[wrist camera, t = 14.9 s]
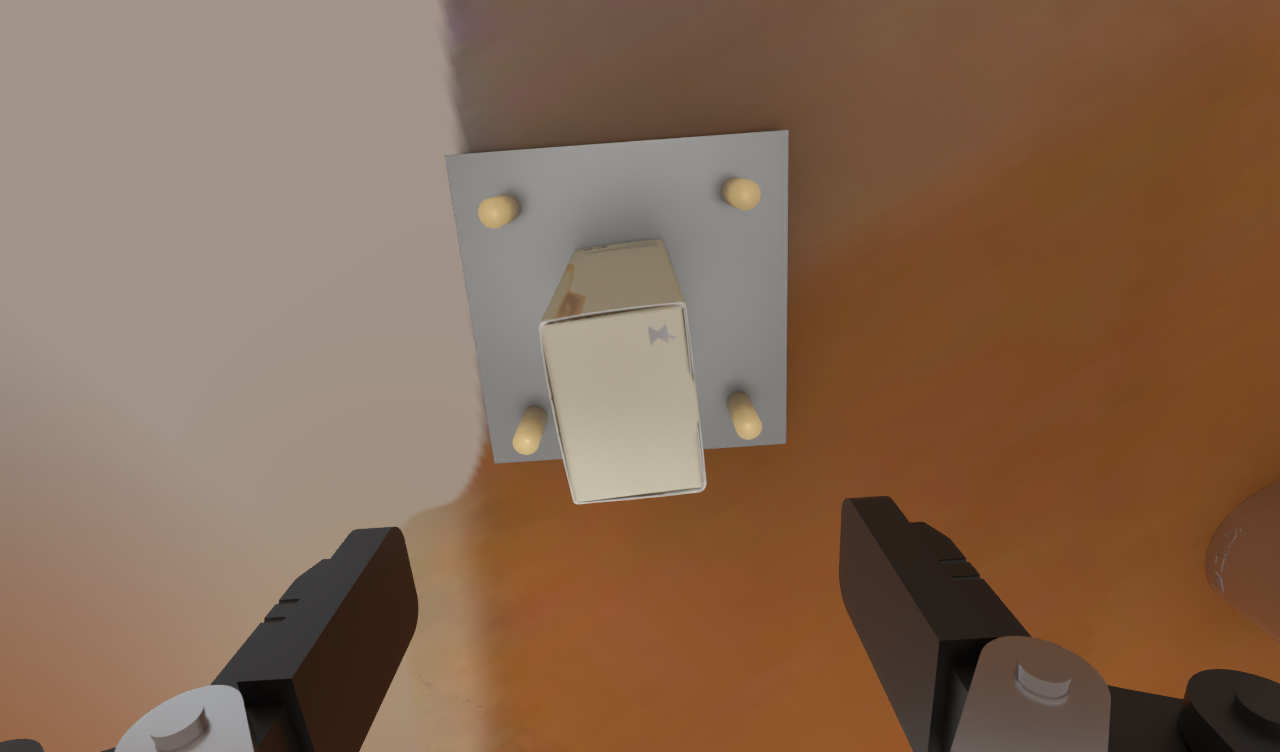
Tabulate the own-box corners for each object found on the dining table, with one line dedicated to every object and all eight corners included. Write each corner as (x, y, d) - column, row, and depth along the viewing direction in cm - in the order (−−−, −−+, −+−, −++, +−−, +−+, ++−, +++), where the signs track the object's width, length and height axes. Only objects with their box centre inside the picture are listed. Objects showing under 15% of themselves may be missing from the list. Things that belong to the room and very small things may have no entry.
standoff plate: (780, 131, 29) (806, 126, 24) (779, 431, 34) (800, 471, 29) (453, 155, 29) (422, 154, 25) (500, 450, 34) (481, 492, 29)
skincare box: (570, 249, 29) (529, 309, 17) (664, 236, 29) (687, 288, 17) (592, 380, 31) (569, 512, 19) (680, 368, 31) (709, 495, 19)
